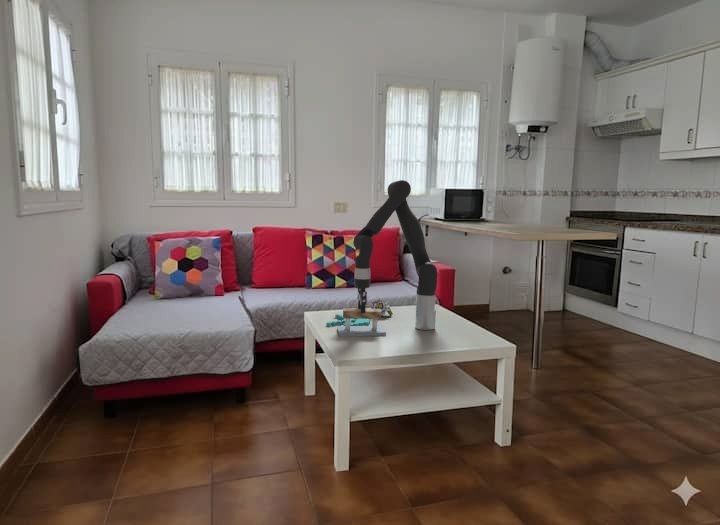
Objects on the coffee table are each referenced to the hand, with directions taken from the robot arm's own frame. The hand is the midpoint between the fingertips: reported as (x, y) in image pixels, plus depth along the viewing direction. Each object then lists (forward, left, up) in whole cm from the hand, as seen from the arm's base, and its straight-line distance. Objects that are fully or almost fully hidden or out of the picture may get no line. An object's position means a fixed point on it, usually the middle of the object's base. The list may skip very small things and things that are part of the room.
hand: (361, 310), depth 232 cm
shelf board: (0, 0, -3) cm, 3 cm away
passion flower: (-15, -31, -11) cm, 36 cm away
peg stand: (0, 0, -11) cm, 11 cm away
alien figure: (+3, -18, -11) cm, 22 cm away
